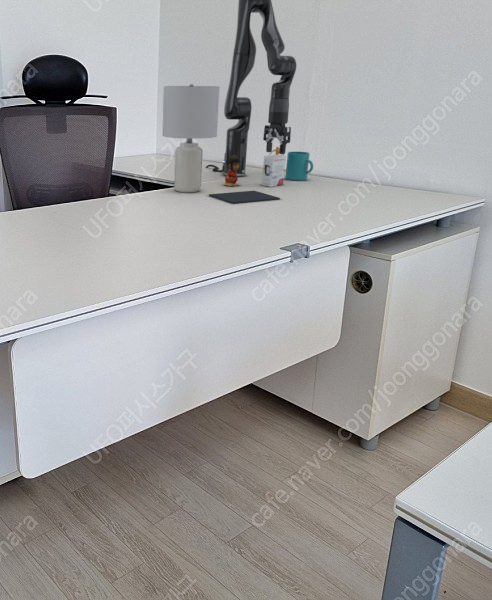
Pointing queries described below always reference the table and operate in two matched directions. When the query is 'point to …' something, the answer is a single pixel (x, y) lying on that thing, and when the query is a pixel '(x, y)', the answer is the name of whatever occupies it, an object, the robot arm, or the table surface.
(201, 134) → the lamp
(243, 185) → the table surface
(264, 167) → the ink box
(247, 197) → the mat
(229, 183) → the figurine
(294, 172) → the cup
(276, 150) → the figurine
